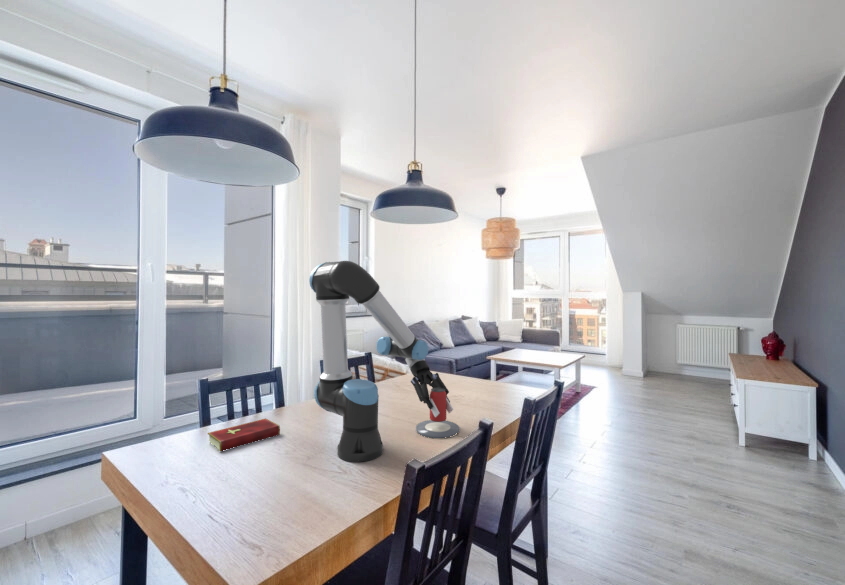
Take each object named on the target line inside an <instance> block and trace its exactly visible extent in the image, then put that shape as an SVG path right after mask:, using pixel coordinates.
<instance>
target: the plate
mask: <svg viewBox="0 0 845 585" xmlns="http://www.w3.org/2000/svg"><path fill="white" fill-rule="evenodd" d="M416 431H417V432H416ZM415 432H416V433H417V434H418V435H419V434H420V435H419V436H421V435H422V436H421V437H424V436H425V437H424V438H428V437H429V438H428V439H434V438H444V439H446V438H445V437H450V436H453V435H455V434H456V433H458V432H459V433H460V425H458V424H457V423H456V422H453V421H450V420H447V419H446V420H445V421H443V422H434V421H432V420H430V419H427V420H424V421H420V422H419V423H418V424H416V426H415ZM459 433H458V434H459ZM453 437H454V436H453ZM450 438H451V437H450Z"/></svg>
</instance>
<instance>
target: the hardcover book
mask: <svg viewBox="0 0 845 585" xmlns="http://www.w3.org/2000/svg"><path fill="white" fill-rule="evenodd" d="M207 435H208V437H209V438H208V441H210V442H211V443H212V444H213V445H215V446H216V447H217V448H218V449H219V450H218V449H217V448H216V447H215V448H216V449H217V450H218V451H222V452H224V451H223V450H226V449H229V450H231V449H230V448H233V447H236V448H238V447H237V446H240V445H243V446H245V445H244V444H246V445H249V444H248V443H250V444H252V442H253V443H256V442H255V441H257V442H259V441H258V440H260V441H263V440H262V439H264V440H267V439H270V438H269V437H271V438H273V436H274V437H276V435H277V436H280V435H281V426H280V425H279V424H278V423H277V422H274V421H272V420H270V419H267V418H266V417H265V418H262V419H259V420H258V419H257V420H254V421H250V422H245V423H242V424H237V425H234V426H233V425H232V426H230V427H225V428H221V429H218V430H215V431H210V432H207ZM266 438H267V439H266ZM211 443H210V444H211ZM212 444H211V445H212ZM213 445H212V446H213ZM240 447H241V446H240ZM233 449H234V448H233ZM226 451H227V450H226Z"/></svg>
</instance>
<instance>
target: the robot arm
mask: <svg viewBox="0 0 845 585" xmlns="http://www.w3.org/2000/svg"><path fill="white" fill-rule="evenodd" d="M309 274H310V275H309V286H310V289H311V290H312V291H313V292H314V293H315V301H316V302H317V303H318V304H319V305H320V313H321V314H320V316H321V338H322V339H321V340H322V344H321V345H322V366H323V371H322V373H321V374H319V381H318V382H317V384H316V385H315V387H314V392H313V396H314V400H315V402H316V405H318V406H319V407H320V409H321V408H322V409H323V410H325V411H326V412H329V413H333V414H335V415H338V416H340V417H342V433H341V435H340V438H339V439H340V440H339V442H338V444H337V448H336V450H337V452H336V454H337V457H338V458H339V459H341V460H343V461H347V462H351V463H352V462H353V463H361V462H368V461H372V460H375V459H377V458H378V457H380V456H381V455H382V454H383V452H384V448H383V447H384V443H383V441H382V437H381V434H380V432H379V397H380V396H379V388H378V386H377V384H376V383H375V382H373V381H370V380H367V379H361V378H353V372H352V371H351V370H349V363H348V344H347V343H348V339H347V334H348V333H347V316H346V313H347V312H346V304H347V302H348V301H349V300H350V298H352V299H353V300H354V301H355V302H356V303H357V304H358V305H363V307H364V308H365V309H366V310H367V311H368V313H369V314H370V315H371V317H372V318H373V319H374V320H375V321H376V322H377V323H378V325H379V326H380V327H381V328H382V329H383V330H384V331H385V333H386V334H387V335H388V336H386V335H385V336H381V337H380V338H378V340H377V342H376V347H375V348H376V351H377V353H378V354H379V355H381V356H393V357H400V358H403V360H404V361H405V363H406V364H407V366H408V368H409V371H410V372H411V374H412V375H413V377H412V378H411V379H410V383H411V384H412V386H413V387H414V389H415V392H416V395H417V397H418V400H419V402H420V403H422V402H423V404H425V405H427V407H428V409H429V410H430V409H431V411H432V413H433V415H434V417H437V416H438V415H439V414H440V413H439V411H438V409H437V407H436V405H435V403H434V402H433V400H432V399H430V392H429V388H428V386H429V387H431V389H432V388H444V389H445V392H446V395H447V396H446V412H447V413H448V414H451V413H452V412H453V411H454V407H453V406H452V404H451V400H450V399H449V397H448V394H449V393H450V390H449V389H448V388H447V386H446V384H445V383H444V382H443V380H442V379H441V377H440V374H439V373H438V372H436V373H433V372H432V371H431V370H430V366H429V364H428V362H427V361H426V358H427V356H428V354H429V344H428V342H426V341H425V340H421V339H418V338H417V337H416V336H415V334H414V333H413V332H412V330H410V328H409V327H408V325H407V324H406V323H405V321H404V320H403V319H402V318H401V316H400V315H399V314H398V313H397V311H396V310H395V308H394V307H393V306H392V305H391V303H390V302H389V301H388V300H387V298H386V297H385V296H384V295H383V293H382V292H381V291H380V288H381V287H380V285H379V283H378V282H377V281H376V279H375V278H374V277H373V276H372V275H371V274H370V273H369V272H368V271H367V270H366V269H364V267H362V266H360V265H359V264H357V262H353V261H351V260H341V261H340V260H339V261H328V262H327V261H325V262H323V263H320V264H318V265H316V266H315V267H314V268H313V269H312V270H311V273H309Z"/></svg>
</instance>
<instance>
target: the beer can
mask: <svg viewBox="0 0 845 585" xmlns="http://www.w3.org/2000/svg"><path fill="white" fill-rule="evenodd" d="M446 396H447V397H448V394H447V395H446V392H445V389H444V388H432V387H431V389H430V392H429V397H430V399H432V400H433V402H434V403H435V405H436V407H437V409H438V411H439V413H440V414H439V415H438V416H437V417H434V415H433V413H432V411H431V409H429V420H432V421H434V422H443V421H445V420H446V421H447V410H446Z"/></svg>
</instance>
